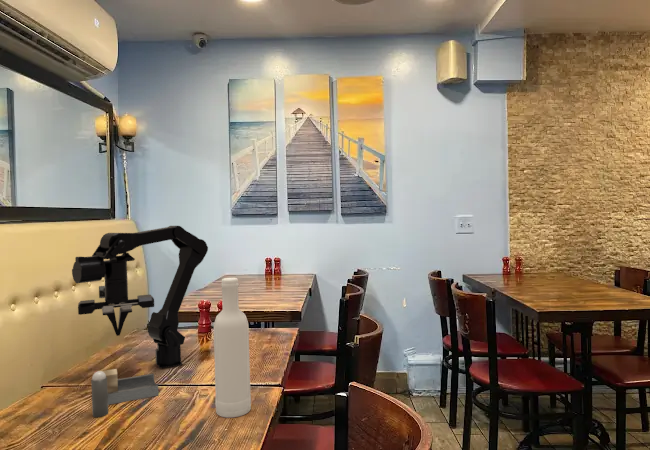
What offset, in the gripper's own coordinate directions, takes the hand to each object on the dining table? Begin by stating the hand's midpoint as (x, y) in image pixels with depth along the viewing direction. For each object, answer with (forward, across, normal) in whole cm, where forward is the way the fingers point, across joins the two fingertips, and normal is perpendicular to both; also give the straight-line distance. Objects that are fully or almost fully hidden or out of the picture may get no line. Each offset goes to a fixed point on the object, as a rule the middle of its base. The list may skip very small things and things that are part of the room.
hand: (118, 335), depth 128 cm
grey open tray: (+12, -1, +13) cm, 18 cm away
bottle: (+12, -22, +36) cm, 44 cm away
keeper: (+11, +3, +13) cm, 17 cm away
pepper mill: (+12, +5, +23) cm, 26 cm away
